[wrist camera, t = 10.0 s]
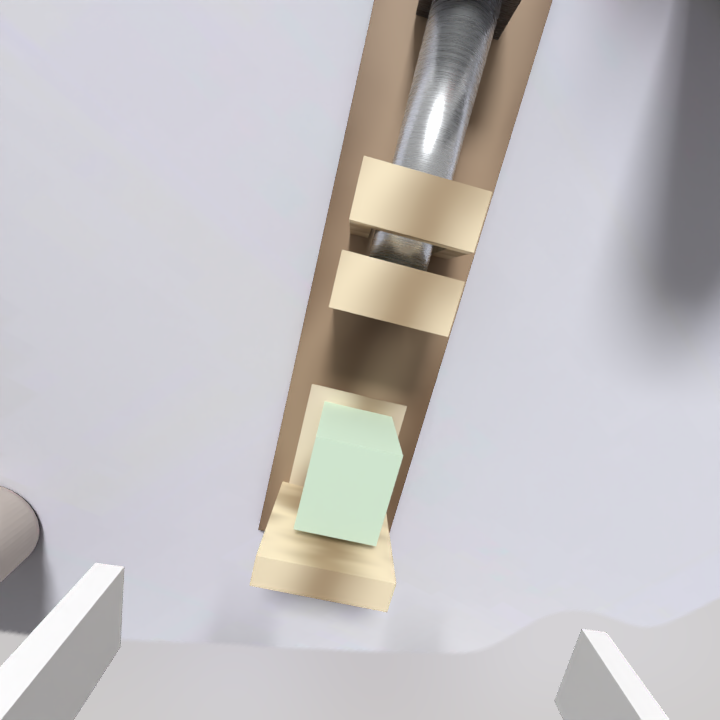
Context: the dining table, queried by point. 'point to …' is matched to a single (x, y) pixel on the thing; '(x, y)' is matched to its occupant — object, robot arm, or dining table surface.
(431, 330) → the jig
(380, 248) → the shaft
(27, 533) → the coffee cup
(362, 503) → the block
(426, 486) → the dining table surface
